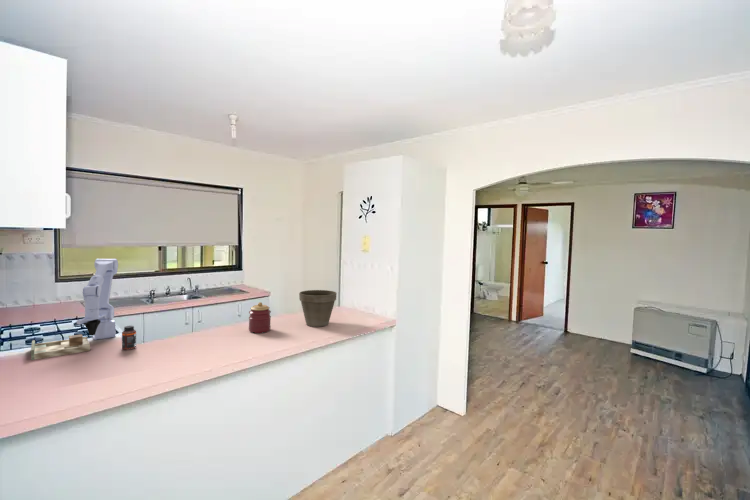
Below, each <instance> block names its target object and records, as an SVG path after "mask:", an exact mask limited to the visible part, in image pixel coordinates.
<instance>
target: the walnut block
mask: <svg viewBox="0 0 750 500" xmlns="http://www.w3.org/2000/svg"><path fill="white" fill-rule="evenodd" d="M83 337H84V336H83V334H82V333H80V334H73V335H69V336H68V339H69V346H75V345H82V344H83Z"/></svg>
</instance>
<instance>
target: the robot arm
mask: <svg viewBox="0 0 750 500" xmlns="http://www.w3.org/2000/svg"><path fill="white" fill-rule="evenodd" d="M94 268H95V274H94V275H92V276H91V277H90V279H89V281H88V283H87V285H86V286H83V288H82V296H83V297H82V298H83V301H84V317H83V318H80V319H76V325H82V324H83V325H84V326H85V328H86V329H87V332H88V335H89V336H92V338H93V340H94V341H95V340H101V339H102V340H103V339H109V338H116V337H117V336H116V333H117V332H116V320H115V318H114V317H115V307H114V306H113V305H112V304H110V297H111V292H112V284H113V283H112V282H113V278H114V275H117V274H118V271H119V269H118V268H119V260H118V259H117V258H96V259H95V260H94Z"/></svg>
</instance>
